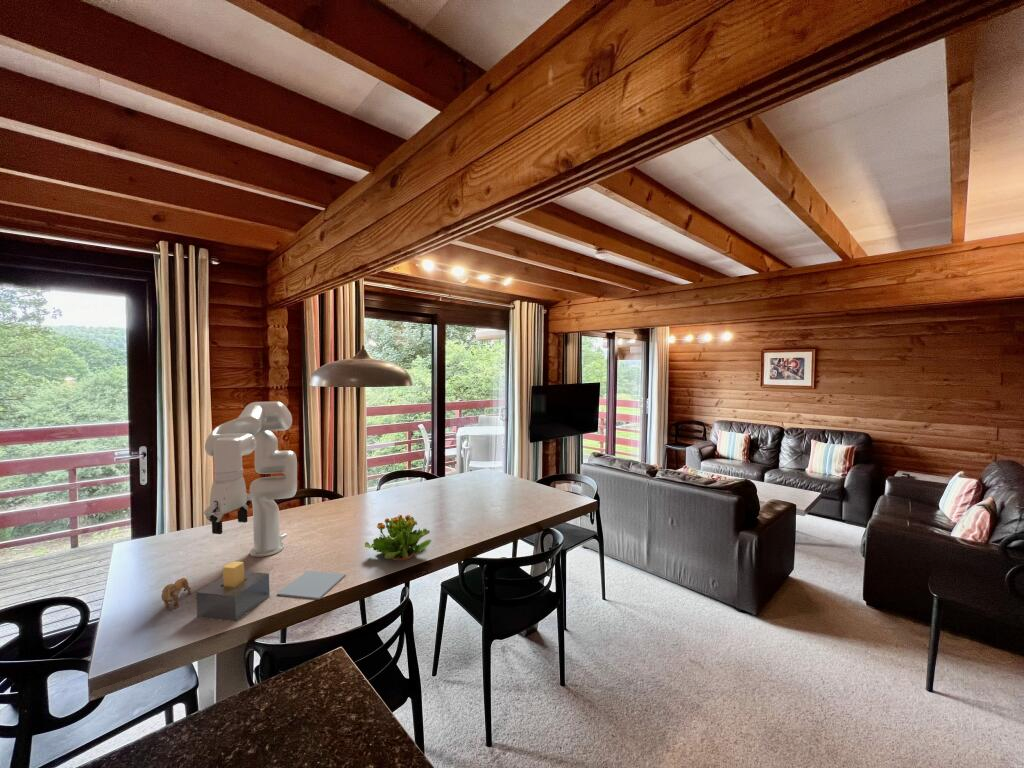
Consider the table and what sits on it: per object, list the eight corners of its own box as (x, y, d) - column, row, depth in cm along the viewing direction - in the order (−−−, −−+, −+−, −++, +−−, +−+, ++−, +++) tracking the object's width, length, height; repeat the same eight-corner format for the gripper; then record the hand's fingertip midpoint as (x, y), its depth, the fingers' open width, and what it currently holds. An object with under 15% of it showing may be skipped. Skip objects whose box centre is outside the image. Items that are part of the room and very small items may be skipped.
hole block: (233, 592, 143) (233, 570, 143) (269, 596, 141) (269, 573, 140) (197, 617, 129) (196, 592, 129) (236, 621, 127) (235, 596, 127)
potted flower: (411, 538, 188) (411, 500, 187) (446, 553, 173) (445, 512, 172) (361, 558, 169) (360, 516, 168) (395, 576, 154) (394, 531, 153)
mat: (307, 572, 157) (307, 570, 157) (345, 575, 155) (345, 574, 155) (276, 595, 141) (276, 593, 141) (319, 599, 139) (319, 597, 139)
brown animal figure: (179, 613, 131) (178, 585, 131) (158, 617, 129) (157, 589, 129) (193, 590, 145) (192, 565, 144) (174, 593, 143) (173, 568, 142)
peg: (234, 596, 137) (233, 561, 137) (244, 597, 137) (243, 562, 136) (224, 603, 133) (223, 567, 133) (235, 604, 133) (233, 568, 132)
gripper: (240, 468, 142) (242, 517, 143) (194, 482, 125) (195, 537, 126) (259, 469, 141) (261, 518, 142) (215, 483, 124) (216, 539, 125)
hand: (230, 527), depth 134 cm, fingers open, 9 cm apart
